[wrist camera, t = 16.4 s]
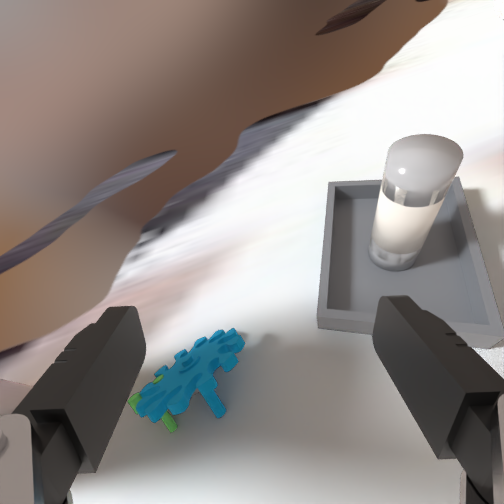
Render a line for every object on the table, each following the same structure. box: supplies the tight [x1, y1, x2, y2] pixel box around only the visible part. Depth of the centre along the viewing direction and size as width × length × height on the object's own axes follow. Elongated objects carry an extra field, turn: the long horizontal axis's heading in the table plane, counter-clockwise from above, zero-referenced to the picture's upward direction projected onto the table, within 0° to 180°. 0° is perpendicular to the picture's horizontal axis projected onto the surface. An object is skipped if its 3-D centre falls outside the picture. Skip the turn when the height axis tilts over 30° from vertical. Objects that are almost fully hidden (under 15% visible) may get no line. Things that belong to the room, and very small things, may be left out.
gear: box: [128, 328, 245, 432], centre depth 24 cm, size 11×6×10 cm
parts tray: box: [317, 177, 504, 349], centre depth 28 cm, size 14×18×3 cm
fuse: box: [368, 134, 463, 272], centre depth 24 cm, size 5×5×12 cm
